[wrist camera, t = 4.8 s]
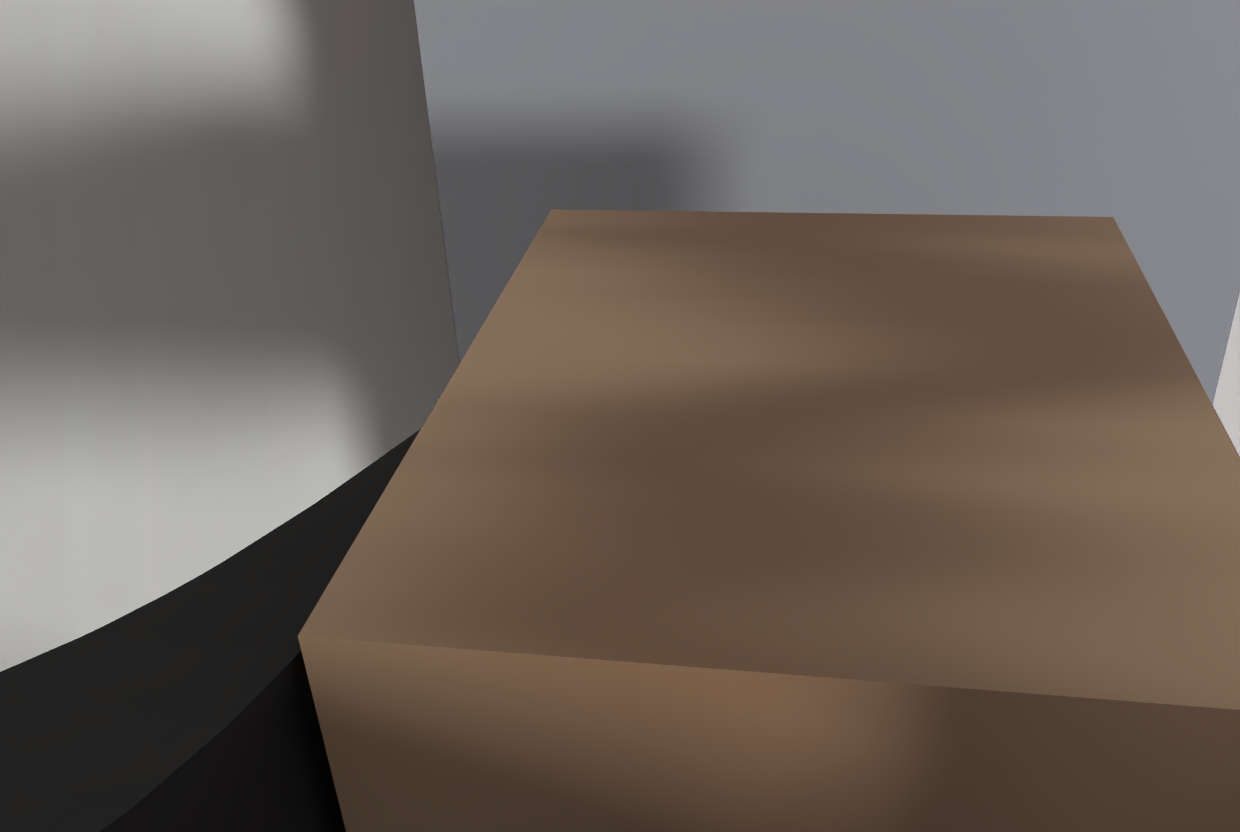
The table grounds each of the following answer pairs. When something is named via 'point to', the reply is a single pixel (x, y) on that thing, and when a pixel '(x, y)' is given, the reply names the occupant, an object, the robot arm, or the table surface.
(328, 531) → the robot arm
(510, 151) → the gray rectangular slab
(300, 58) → the table surface
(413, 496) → the walnut block
